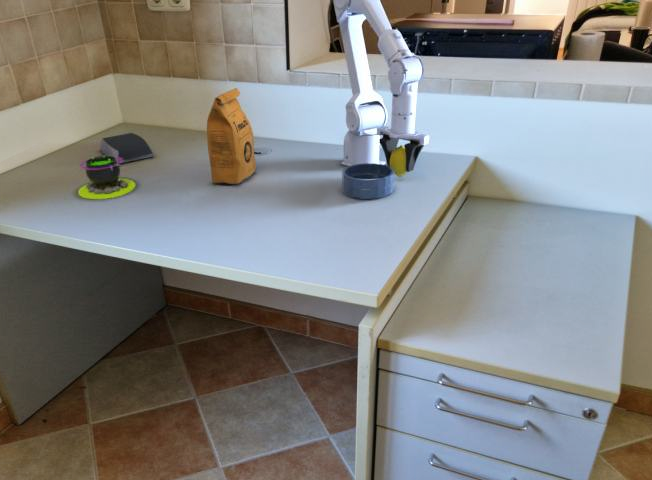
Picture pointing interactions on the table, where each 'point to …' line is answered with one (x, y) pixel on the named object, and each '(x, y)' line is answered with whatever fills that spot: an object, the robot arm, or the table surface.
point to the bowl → (367, 180)
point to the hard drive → (126, 147)
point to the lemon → (398, 161)
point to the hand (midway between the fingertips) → (400, 168)
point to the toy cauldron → (104, 178)
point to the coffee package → (229, 140)
